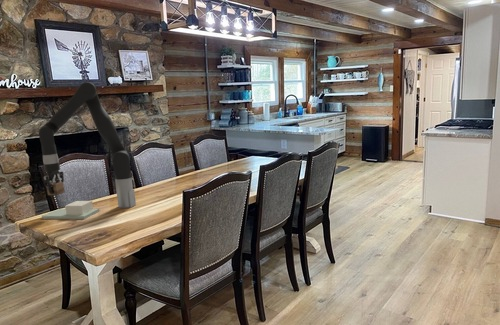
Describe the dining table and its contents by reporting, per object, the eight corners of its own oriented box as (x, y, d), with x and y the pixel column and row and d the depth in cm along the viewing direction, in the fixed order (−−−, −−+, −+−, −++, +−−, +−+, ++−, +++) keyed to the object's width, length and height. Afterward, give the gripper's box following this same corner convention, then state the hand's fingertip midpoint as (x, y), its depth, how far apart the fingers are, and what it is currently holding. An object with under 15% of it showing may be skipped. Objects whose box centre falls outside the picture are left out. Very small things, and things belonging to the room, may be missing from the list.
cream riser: (93, 209, 218) (92, 200, 217) (82, 214, 208) (81, 205, 207) (77, 209, 219) (76, 200, 219) (66, 214, 210) (65, 205, 209)
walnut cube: (64, 192, 214) (62, 181, 213) (57, 194, 209) (55, 184, 208) (55, 192, 216) (53, 182, 215) (47, 195, 210) (46, 184, 209)
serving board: (99, 211, 218) (98, 208, 218) (84, 219, 205) (84, 216, 204) (58, 211, 223) (58, 208, 223) (42, 218, 210) (41, 216, 209)
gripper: (48, 164, 201) (53, 195, 204) (65, 159, 215) (70, 188, 218) (35, 165, 203) (41, 195, 206) (54, 160, 217) (58, 189, 220)
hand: (56, 192), depth 212 cm, fingers closed on walnut cube, 6 cm apart
